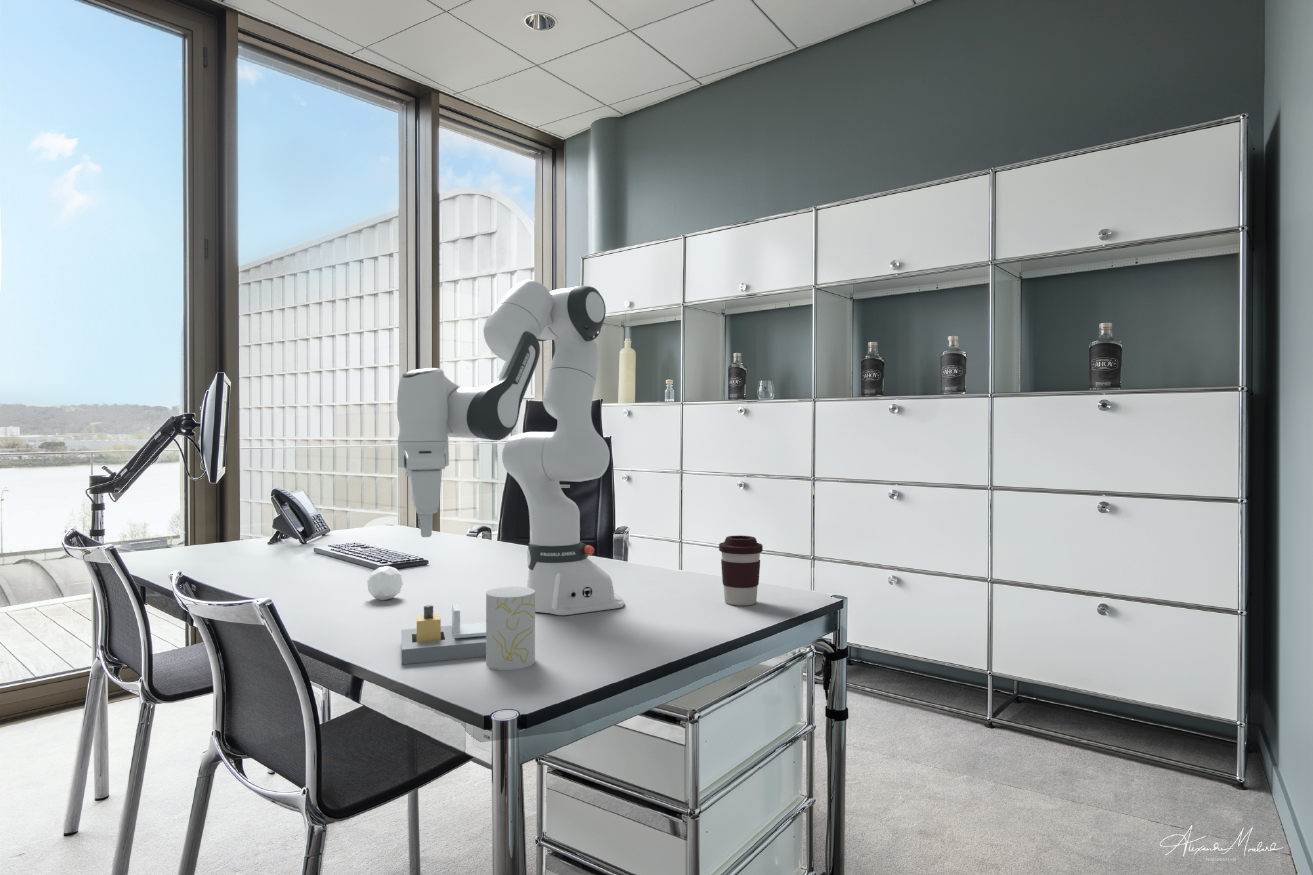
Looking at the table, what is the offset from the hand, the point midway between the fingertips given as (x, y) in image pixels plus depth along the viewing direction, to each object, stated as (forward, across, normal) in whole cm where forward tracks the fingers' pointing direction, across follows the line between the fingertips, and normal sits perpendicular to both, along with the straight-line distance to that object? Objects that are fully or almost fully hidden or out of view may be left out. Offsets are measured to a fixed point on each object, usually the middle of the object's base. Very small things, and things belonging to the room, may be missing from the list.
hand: (424, 532), depth 135 cm
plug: (+21, +4, 0) cm, 21 cm away
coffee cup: (+22, -10, +69) cm, 74 cm away
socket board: (+21, +5, +3) cm, 21 cm away
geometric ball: (+22, -41, -7) cm, 47 cm away
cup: (+21, +16, +13) cm, 29 cm away
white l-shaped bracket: (+18, +5, +8) cm, 20 cm away
